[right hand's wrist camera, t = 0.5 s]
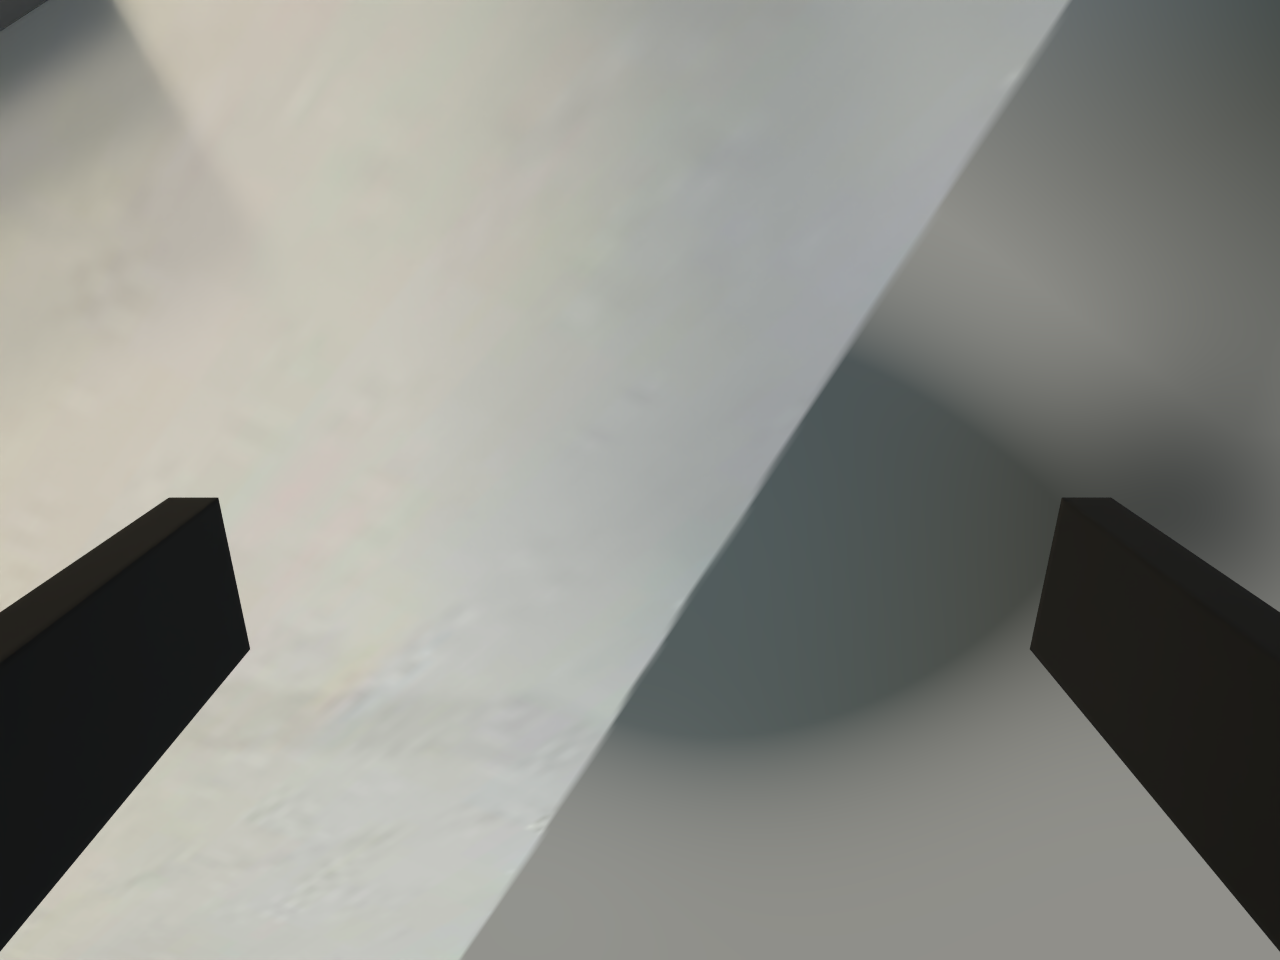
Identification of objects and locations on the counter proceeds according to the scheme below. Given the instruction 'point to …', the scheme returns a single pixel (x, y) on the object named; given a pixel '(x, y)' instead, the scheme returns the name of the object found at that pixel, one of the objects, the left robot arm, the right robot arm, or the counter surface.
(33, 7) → the beam
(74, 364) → the counter surface
